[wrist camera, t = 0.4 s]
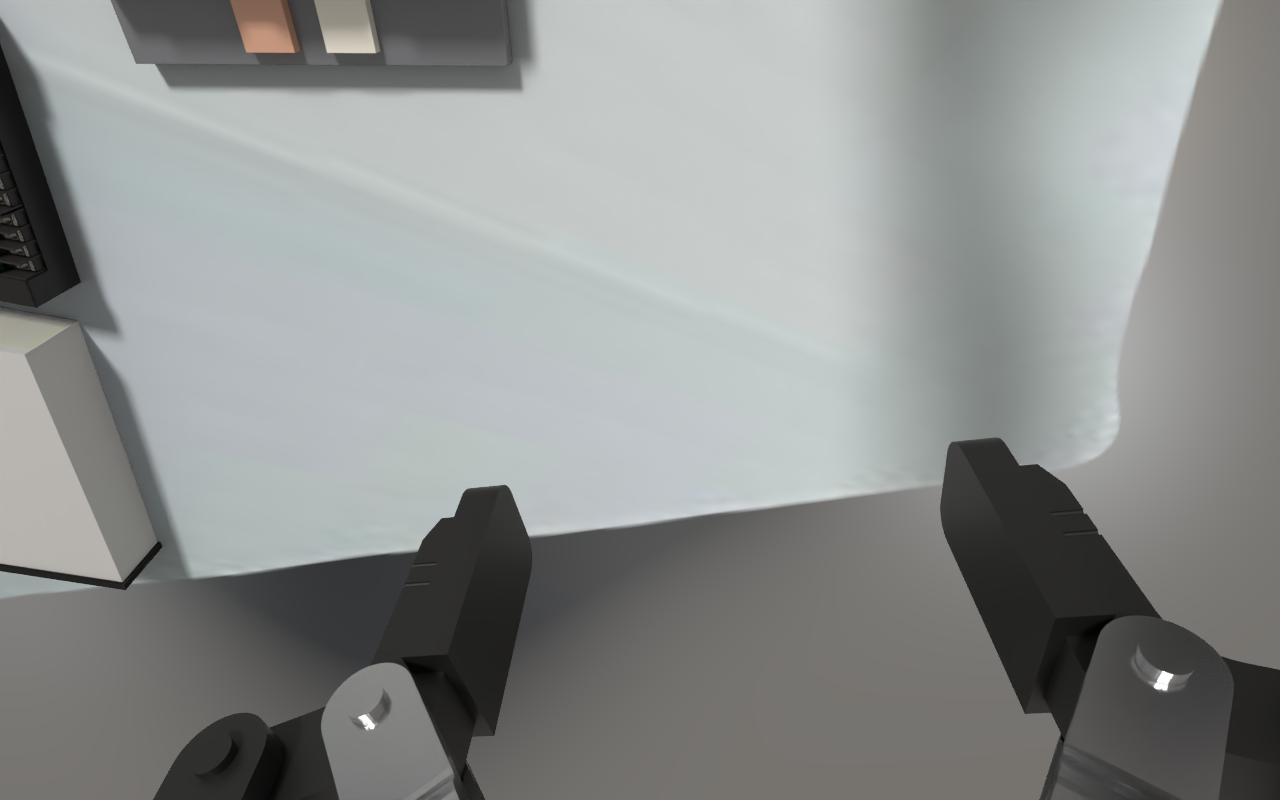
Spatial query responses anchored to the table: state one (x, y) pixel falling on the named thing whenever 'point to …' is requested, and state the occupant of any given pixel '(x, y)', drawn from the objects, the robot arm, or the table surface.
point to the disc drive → (63, 462)
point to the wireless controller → (27, 213)
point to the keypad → (317, 32)
